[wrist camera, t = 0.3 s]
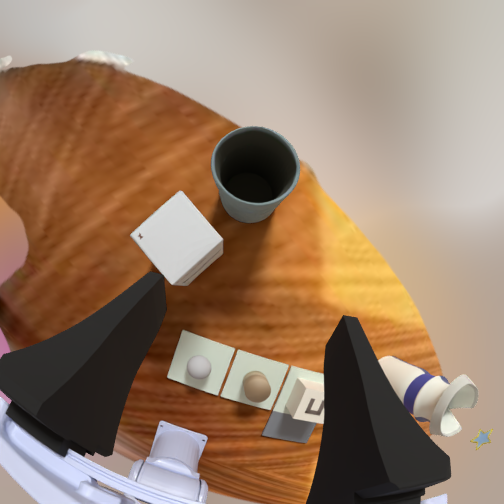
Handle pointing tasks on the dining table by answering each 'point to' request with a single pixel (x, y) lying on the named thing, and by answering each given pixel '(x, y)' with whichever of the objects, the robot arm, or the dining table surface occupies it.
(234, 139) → the grey plant pot
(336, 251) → the dining table surface
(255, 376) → the cork
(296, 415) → the letter cube
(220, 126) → the dining table surface
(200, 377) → the grey ball
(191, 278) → the supplement box
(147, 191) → the dining table surface
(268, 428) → the slate mat
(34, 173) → the dining table surface
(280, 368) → the tile set
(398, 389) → the cream belted figurine
